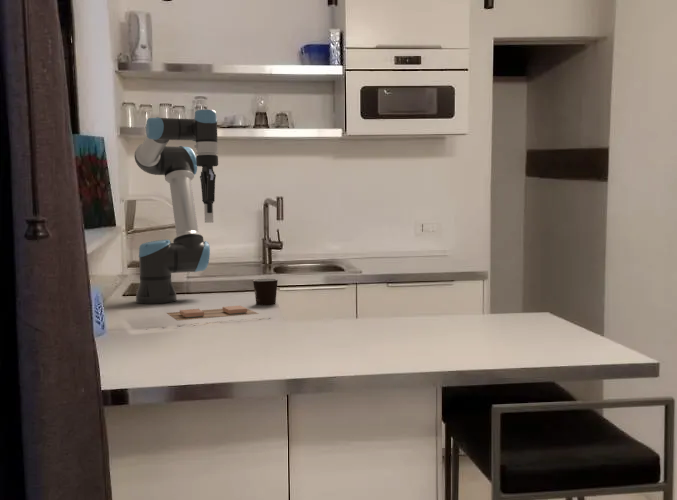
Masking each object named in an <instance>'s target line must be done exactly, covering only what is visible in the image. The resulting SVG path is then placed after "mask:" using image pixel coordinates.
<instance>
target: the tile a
mask: <svg viewBox="0 0 677 500" xmlns="http://www.w3.org/2000/svg"><path fill="white" fill-rule="evenodd" d="M201 310H202V309H199V308H192V309H179V312H180V314H181V315H182V316H184V317H185V318H192V317H203V316H204V312H203V311H201Z"/></svg>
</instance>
